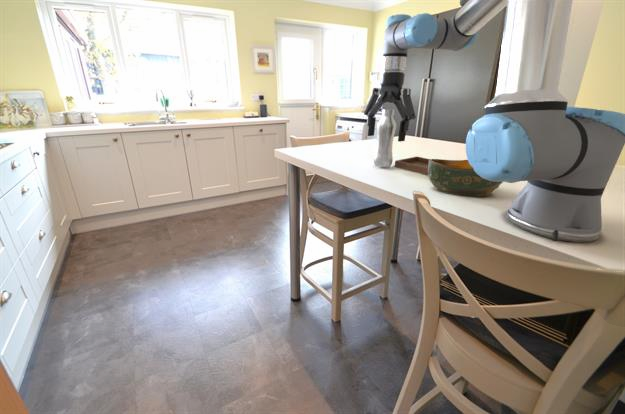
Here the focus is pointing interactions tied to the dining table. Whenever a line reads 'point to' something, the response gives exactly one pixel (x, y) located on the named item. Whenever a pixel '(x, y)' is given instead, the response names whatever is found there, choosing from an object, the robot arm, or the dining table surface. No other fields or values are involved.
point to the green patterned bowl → (459, 178)
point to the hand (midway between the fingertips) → (385, 138)
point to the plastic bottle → (385, 139)
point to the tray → (414, 164)
